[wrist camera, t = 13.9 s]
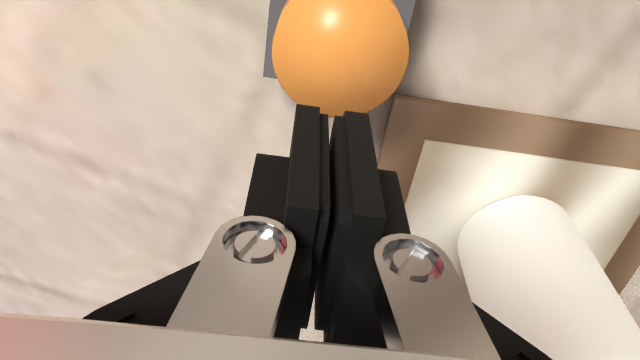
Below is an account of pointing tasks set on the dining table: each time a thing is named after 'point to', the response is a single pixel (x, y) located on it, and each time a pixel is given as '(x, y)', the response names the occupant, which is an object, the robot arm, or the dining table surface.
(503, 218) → the can
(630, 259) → the sketch board
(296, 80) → the button
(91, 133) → the dining table surface
